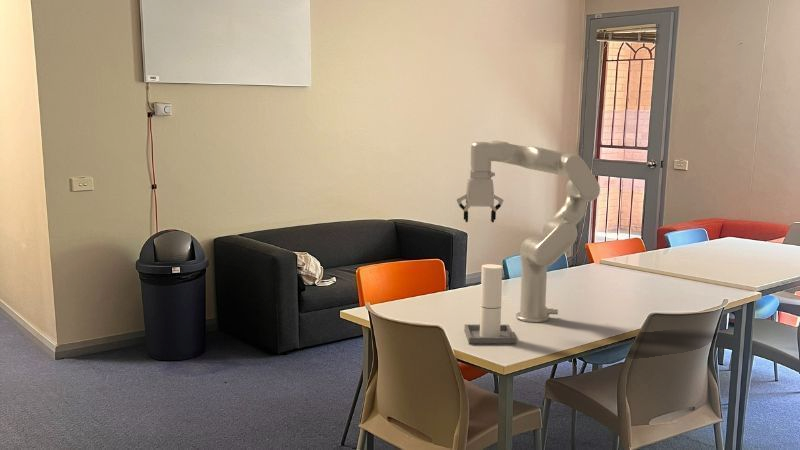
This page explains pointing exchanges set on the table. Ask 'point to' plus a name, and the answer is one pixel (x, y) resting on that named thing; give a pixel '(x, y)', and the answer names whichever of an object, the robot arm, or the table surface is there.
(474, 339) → the desk tray
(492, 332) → the cylindrical container
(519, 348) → the table surface
